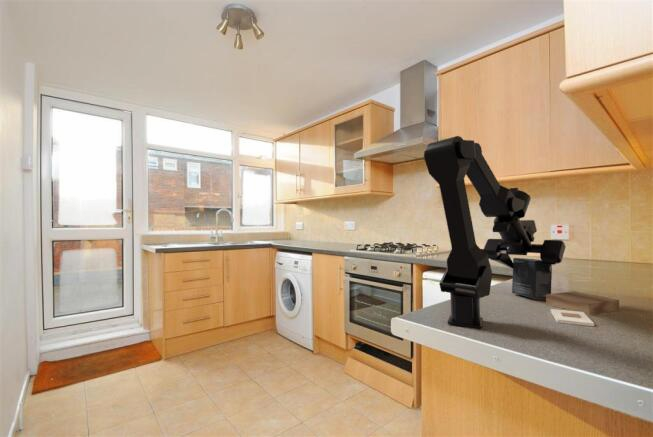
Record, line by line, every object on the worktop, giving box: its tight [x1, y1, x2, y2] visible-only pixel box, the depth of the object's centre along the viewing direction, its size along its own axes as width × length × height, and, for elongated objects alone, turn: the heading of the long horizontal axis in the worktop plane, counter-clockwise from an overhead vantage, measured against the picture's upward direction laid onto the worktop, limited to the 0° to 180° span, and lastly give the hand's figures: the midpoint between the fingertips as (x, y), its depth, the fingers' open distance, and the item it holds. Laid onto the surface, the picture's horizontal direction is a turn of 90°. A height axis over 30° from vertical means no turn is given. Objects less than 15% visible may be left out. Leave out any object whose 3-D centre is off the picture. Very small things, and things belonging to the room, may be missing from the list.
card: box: [550, 308, 595, 327], centre depth 67 cm, size 9×6×1 cm, turn 150°
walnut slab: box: [545, 290, 620, 316], centre depth 75 cm, size 10×10×2 cm
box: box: [511, 257, 553, 300], centre depth 86 cm, size 8×6×11 cm
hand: (530, 268), depth 87 cm, fingers closed on box, 9 cm apart
